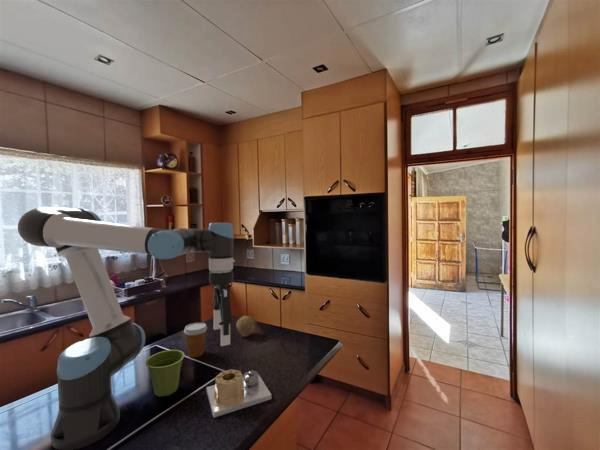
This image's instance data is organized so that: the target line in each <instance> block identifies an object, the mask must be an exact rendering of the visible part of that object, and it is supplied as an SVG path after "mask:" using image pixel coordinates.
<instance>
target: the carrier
mask: <svg viewBox="0 0 600 450" xmlns="http://www.w3.org/2000/svg"><path fill="white" fill-rule="evenodd" d="M243 389H244V395H242V396H241V397H240V400H239V401H238V402H236V401H235V402H232V403H229V405H225V403H220V402H219V403H217V402H216V398H215V397H214V392H215V390H216V387H215V384H214V385H210V386H206V389H205V390H206V392H205V393H206V395H207V398H208V402H209V405H210V406H209V407H210V410H211V414H212V417H213V418H217V417H221V416H224V415H226V414H229V413H233V412H236V411H238V410H241V409H245V408H249V407H252V406H254V405H257V404H261V403H263V402H267V401H270V400H272V393H271V391H270V390H269V389H268V386H267V385H266V383H265V382H264V381H263V378H262V377H261V375H260V374H259V372H258V371H256V370H254V369H250V370H248V371H246V372H244V374H243Z"/></svg>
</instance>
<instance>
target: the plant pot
mask: <svg viewBox="0 0 600 450" xmlns="http://www.w3.org/2000/svg"><path fill="white" fill-rule="evenodd" d="M185 355H186V354H185V352H183V351H182V350H178V349H169V350H163V351H159V352H157V353H155V354H152V355H151V356H150V357H148V358H147V359H146V361H145V365H146V366H147V369H148V371H149V374H150V378H151V383H152V388H153V392H154V395H155V396H156V397H161V398H162V397H166V396H171V395H172V394H174V393H175V392H176V391H177V390H178V388H179V384H180V376H181V370H182V364H183V360H184V358H185Z"/></svg>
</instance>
